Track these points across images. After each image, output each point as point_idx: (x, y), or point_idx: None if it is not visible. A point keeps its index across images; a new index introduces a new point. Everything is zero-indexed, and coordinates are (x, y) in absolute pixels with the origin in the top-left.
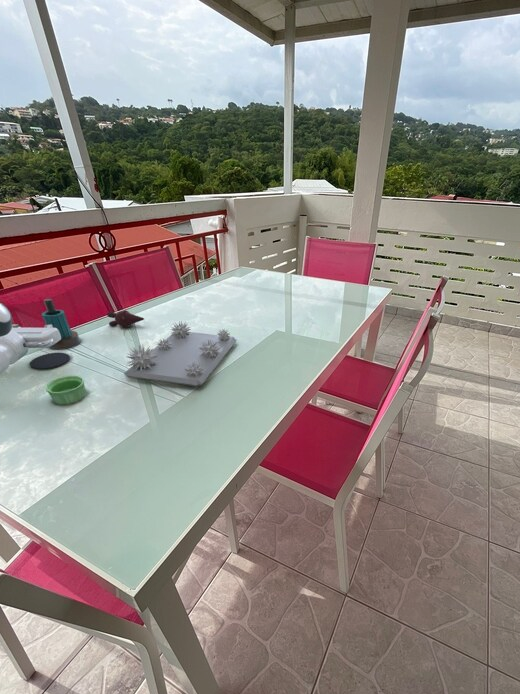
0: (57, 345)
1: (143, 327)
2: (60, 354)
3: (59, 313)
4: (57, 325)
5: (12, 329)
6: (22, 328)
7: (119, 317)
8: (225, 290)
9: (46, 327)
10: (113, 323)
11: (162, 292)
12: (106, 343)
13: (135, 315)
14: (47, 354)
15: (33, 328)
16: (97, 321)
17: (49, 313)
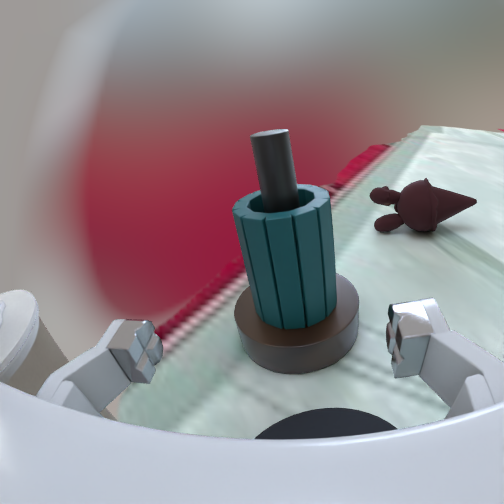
0: (302, 360)
1: (464, 226)
2: (347, 424)
3: (317, 198)
4: (311, 263)
5: (108, 495)
6: (235, 486)
7: (426, 201)
8: (460, 147)
9: (423, 345)
10: (392, 222)
11: (371, 154)
12: (453, 308)
13: (453, 192)
14: (281, 427)
15: (419, 471)
16: None
17: (272, 203)
